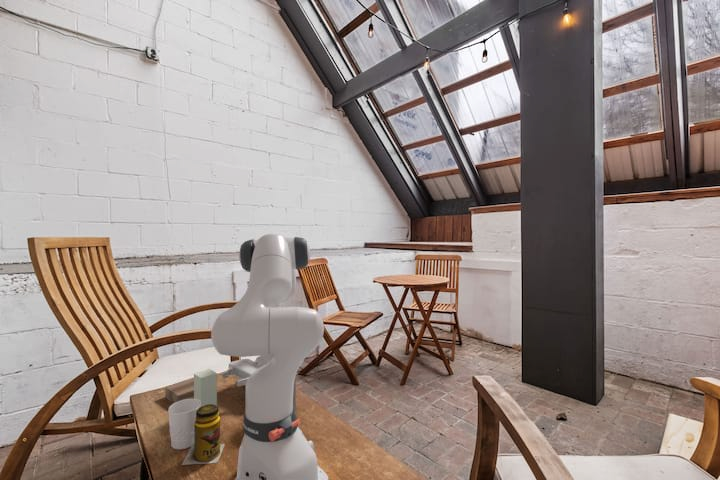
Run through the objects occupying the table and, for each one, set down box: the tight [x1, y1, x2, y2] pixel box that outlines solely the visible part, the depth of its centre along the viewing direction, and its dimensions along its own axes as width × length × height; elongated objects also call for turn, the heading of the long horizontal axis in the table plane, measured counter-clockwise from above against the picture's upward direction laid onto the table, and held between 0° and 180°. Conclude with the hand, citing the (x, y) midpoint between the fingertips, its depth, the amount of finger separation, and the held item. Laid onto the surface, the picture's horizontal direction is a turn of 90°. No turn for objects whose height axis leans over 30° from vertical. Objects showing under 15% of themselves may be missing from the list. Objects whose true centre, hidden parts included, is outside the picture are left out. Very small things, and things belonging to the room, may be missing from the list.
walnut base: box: [164, 377, 194, 404], centre depth 118 cm, size 10×10×4 cm
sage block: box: [193, 368, 218, 407], centre depth 108 cm, size 5×5×12 cm
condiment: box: [181, 404, 226, 466], centre depth 87 cm, size 7×8×12 cm
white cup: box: [168, 399, 201, 451], centre depth 92 cm, size 8×8×10 cm
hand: (229, 379), depth 114 cm, fingers open, 8 cm apart
